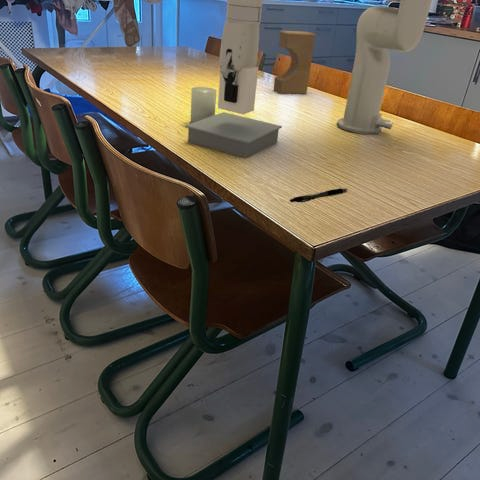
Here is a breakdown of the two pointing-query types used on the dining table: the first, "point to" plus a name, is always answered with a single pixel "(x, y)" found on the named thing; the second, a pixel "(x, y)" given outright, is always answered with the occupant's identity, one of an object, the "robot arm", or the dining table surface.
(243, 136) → the podium
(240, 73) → the carton
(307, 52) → the decorative block
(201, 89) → the grey cylinder
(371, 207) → the dining table surface
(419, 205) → the dining table surface
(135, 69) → the dining table surface
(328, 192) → the pen
